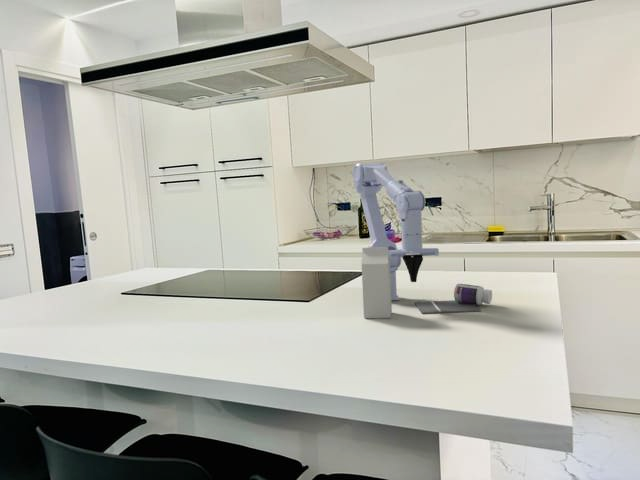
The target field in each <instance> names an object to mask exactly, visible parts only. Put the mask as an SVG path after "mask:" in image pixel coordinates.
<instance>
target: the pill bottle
mask: <svg viewBox="0 0 640 480" xmlns="http://www.w3.org/2000/svg"><path fill="white" fill-rule="evenodd" d="M453 298H454V300H455V301H456V302H462V303H469V304H474V305H475V306H477V305H479V306H481V305H482V304H483V303H484V304H486V305H487V304H489V305H491V303H492V301H493V290H492V289H485V288H484V287H483V286H481V285H474V284H466V283H456V285H455V287H454V289H453Z"/></svg>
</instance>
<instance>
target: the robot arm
mask: <svg viewBox="0 0 640 480" xmlns="http://www.w3.org/2000/svg"><path fill="white" fill-rule="evenodd" d="M352 170H353V171H352V179H353V184H354V188H355V190H356V192H357V193H358V194H359V196H360V197H359V198H360V201H361V205H362V209H363V210H362V211H363V214H364V217H365V220H366V225H367V229H368V232H369V236H370V241H371V243H370V244H369V245H368V247H367V248H371V247H388V250H389V258H390V279H391V301H400V297H399V295H398V293H397V271H399V269H398V268H400V266H401V264H402V260H403V262H404V264H405V266H406V269H407V272H408V274H409V280H410V282H411V283H417V277H418V274H419V271H420V268H421V266H422V264H423V261H424V257H426V256H427V257H428V256H429V257H430V256H435V257H437V256H440V252H439V250H440V249H439V248H437V247H435V248H434V247H432V248H431V247H430V248H427V247H424V248H423V228H422V227H423V226H422V225H423V224H422V223H423V222H422V211H423V210H425V206H426V198H425V195H424V193H423V192H422V191H420V190H413V189H412V188H411V187H410V186H409V185H407V184H406V183H405V182H404V180H403V179H401V178H400V179H398V178H396V179H395V178H394V177H393V176H392V175H391V174H390V173H389V171H388V166H387V165H386V164H384V163H383V162H377V163H374V162H372V163H360V162H358V163H356V164H355V165H354V166H353V169H352ZM383 187H384V188H385V190H386V191H385V192H386V194H387V196H389V198H391V199H392V200H393V201H394V202H395V205H396V209H397V211H398V217H399V219H400V225H401V226H400V227H401V229H400V231H401V248H400V249H398V248H397V244H396V243H395V242H393V241H392V240H390V239H389V238H388V235H387V232H386V231H387V230H386V227H385V224H384V220H383V216H382V213H381V208H380V206H379V205H380V204H379V201H378V197H377V193H378V192H380V191H382V188H383Z"/></svg>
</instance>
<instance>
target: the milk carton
mask: <svg viewBox="0 0 640 480" xmlns="http://www.w3.org/2000/svg"><path fill="white" fill-rule="evenodd" d="M361 249H362V255H361V278H362V279H361V280H362V281H361V283H362V285H361V286H362V301H363V303H362V305H363V318H364V319H391V316H392V311H393V310H392V309H393V307H392V306H393V305H392V300H391V279H390V258H389V250H388V247H371V248H368V247H362V248H361Z"/></svg>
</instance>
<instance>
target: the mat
mask: <svg viewBox="0 0 640 480" xmlns="http://www.w3.org/2000/svg"><path fill="white" fill-rule="evenodd" d="M414 304H415V306H416V307H417V309H418V310H419V312H420V313H421V314H422V315H425V314H427V315H428V314H450V313H451V314H452V313H453V314H455V313H474V312H478V313H479V312H481V311H482V310H481V308H479V307H478V306H477V305H476V304H469V303H462V302H456V301H455V299H454V300H453V299H452V300H451V299H450V300H437V301H436V300H435V301H434V300H428V301H414Z"/></svg>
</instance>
